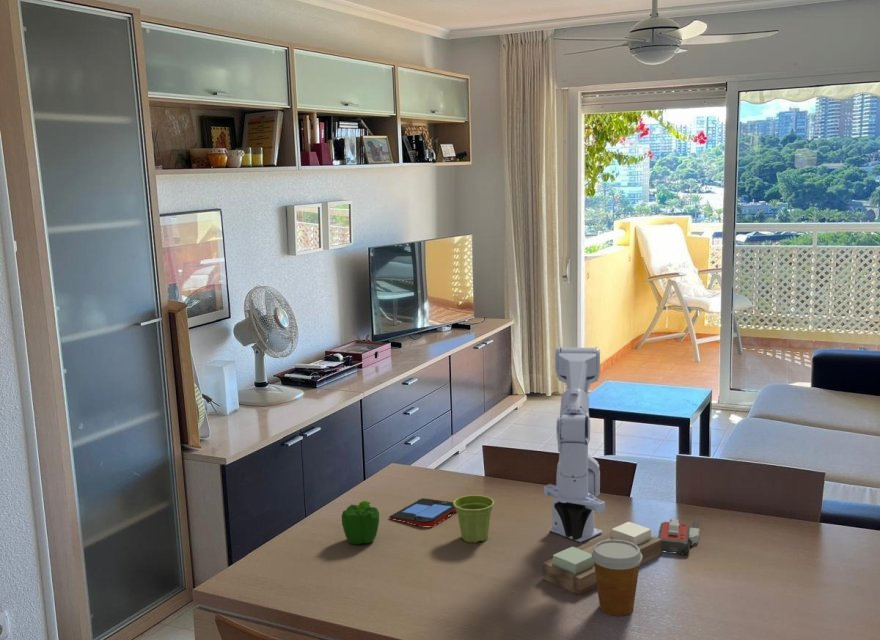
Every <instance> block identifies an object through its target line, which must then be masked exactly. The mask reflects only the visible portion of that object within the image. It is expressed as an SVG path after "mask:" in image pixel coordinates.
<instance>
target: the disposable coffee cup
mask: <svg viewBox="0 0 880 640" xmlns="http://www.w3.org/2000/svg"><path fill="white" fill-rule="evenodd" d="M591 556H592V558H593V561H594V565H595V572H596V573H595V574H596V581H597V587H596V588H597V595H598V602H599V603H598V604H599V609H600V611H602V612H604V613H605V614H606V615H610V616H617V617H620V616H621V617H622V616H627V615H629V614H631V613H632V612H633V611H634V606H635V600H636V593H637V585H638V577H639V573H640V572H639V570H640V566H641V565H640V563H641V560H642V557H643V556H642V554H641V552H640V549H639V547H638V546H637V545H635V544H634V543H631V542H628V541H624V540H604V541H600V542H598V543H596V545H595V546H594V549H593V551H592V552H591Z"/></svg>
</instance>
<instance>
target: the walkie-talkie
mask: <svg viewBox="0 0 880 640" xmlns="http://www.w3.org/2000/svg"><path fill="white" fill-rule="evenodd" d="M698 527H699V518H698V517H694V519H693V525H692V527H691V526H690V525H689V524H687V523H681V520H680V519H674V518H672V519H669V521H664V522H663V521H662V522H661V523H660V526H659V530H658V536H657V538H659V539H662V542H661V551H666V552H676V553H683V554H682V555H688V554H689V553H690V550H691V549H690V546H694V545H695V544H694V543H696V544H698V543H699V538H700V534H701V529H700V528H698ZM697 542H698V543H697ZM693 544H694V545H693ZM666 552H665V553H666Z"/></svg>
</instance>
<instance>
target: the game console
mask: <svg viewBox="0 0 880 640" xmlns="http://www.w3.org/2000/svg"><path fill="white" fill-rule="evenodd" d="M453 502H454V501H448V500H447V501H446V500H441V499H430V498H425V497H424V498H420V499H418V500H417V501H415V502H413V503H411V504H410V505H409V504H408V505H407V506H405V507H403V508H402V509H400V510H399V511H397V512H395V513H393V514H391V515H390V516H389V517H388V518H391V519H396V520H401V521H405V522H409V523H412V524H416V525H421V526H434V525H435V524H437V523H438V522H440V521H442V520H443V519H445V518H447V517H448V515H450V514H453V513H455V512H457V511H456V508H455V507H454V504H453ZM455 514H456V513H455ZM391 519H390V520H391ZM447 519H448V518H447ZM445 520H446V519H445ZM442 522H443V521H442ZM440 523H441V522H440ZM412 524H411V525H412ZM416 525H415V526H416ZM437 525H438V524H437ZM435 526H436V525H435ZM435 526H434V527H435Z"/></svg>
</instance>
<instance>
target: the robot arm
mask: <svg viewBox="0 0 880 640" xmlns="http://www.w3.org/2000/svg"><path fill="white" fill-rule="evenodd" d="M554 354H555V357H554V361H555V364H554V368H555V373H556V377H557V378H558V381H560V382H562V383H565V384H566V390H564V392H563V393H562V395H561V397H560V409H559V416H557V419H556V429H555V430H556V440H557V452H558V463H557V464H556V478H555V479H556V482H555V484H552V483H549V484H546V485H544V486H543V496H546V497H549V496H551V497H553V500H552V503H551V506H552V507H551V519H552V520H551V523H552V524H551V525H552V526H551V528H550V529H549V531H550V532H553V533H554V534H558V535H560V536H562V537H566V538H568V539H570V540H573V541H576V542H579V543H582V542H585V541H586V540H589V539H591V538H594V537H596V536H598V535H600V534H602V533H603V530H602V529H598V528H596V527H595V513H596V514H599V515H600V514H603V513H604V512H605V511H606V502H605V501H603V500H602V499H599V498H597V497H599V495H600V493H601V490H600V488H601V471H600V464H599V461H597V460H596V459H595V458H594V457H592V456H591V455H590V454H589V444H590V440H591V418H590V411H589V410H590V409H589V406H590V397H589V395H588V394H589V393H588V391H589V389H590V387H591V384H594V383H596V382H598V381H599V379H600V372H601V350H600V348H599V347H598V346H595V347H564V346H563V347H561V346H558V347H557V348H556V349H555V353H554Z"/></svg>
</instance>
